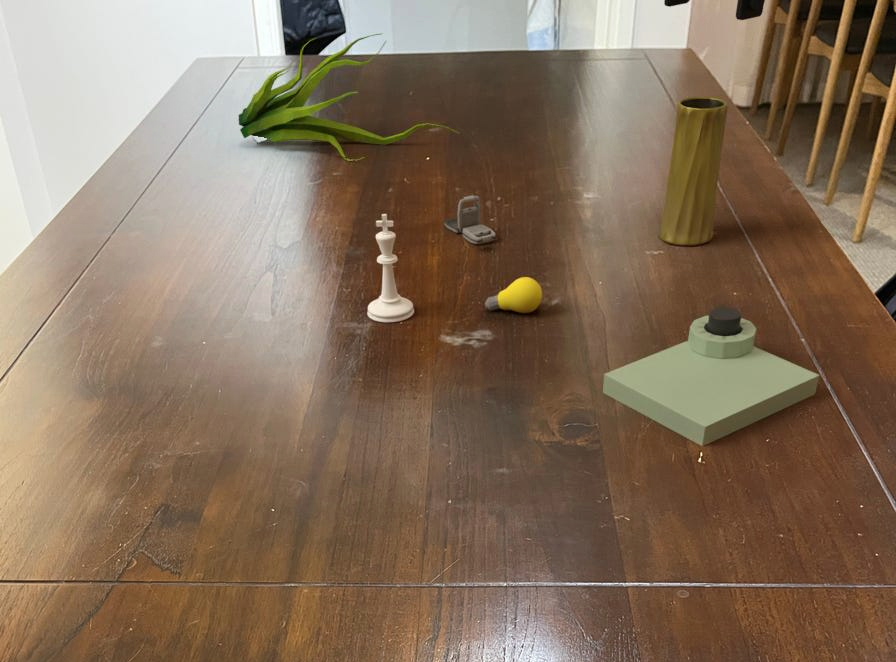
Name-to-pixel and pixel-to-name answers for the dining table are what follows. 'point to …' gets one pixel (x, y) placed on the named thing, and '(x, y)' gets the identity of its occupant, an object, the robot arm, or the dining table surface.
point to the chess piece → (388, 281)
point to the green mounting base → (710, 383)
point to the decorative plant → (305, 110)
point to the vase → (694, 171)
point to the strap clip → (470, 223)
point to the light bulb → (517, 296)
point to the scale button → (724, 321)
